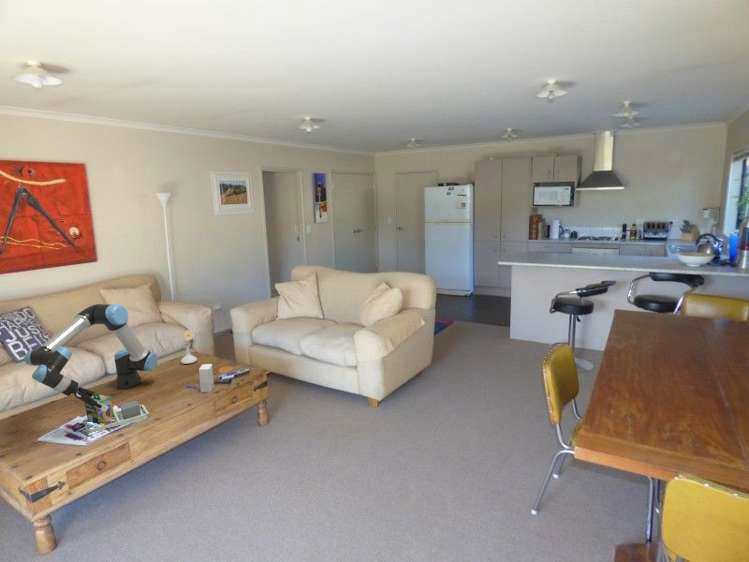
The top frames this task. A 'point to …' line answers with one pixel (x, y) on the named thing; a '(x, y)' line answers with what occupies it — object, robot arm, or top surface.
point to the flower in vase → (188, 357)
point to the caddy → (143, 416)
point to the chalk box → (97, 414)
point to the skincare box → (206, 378)
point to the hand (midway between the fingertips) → (105, 405)
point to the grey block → (130, 410)
